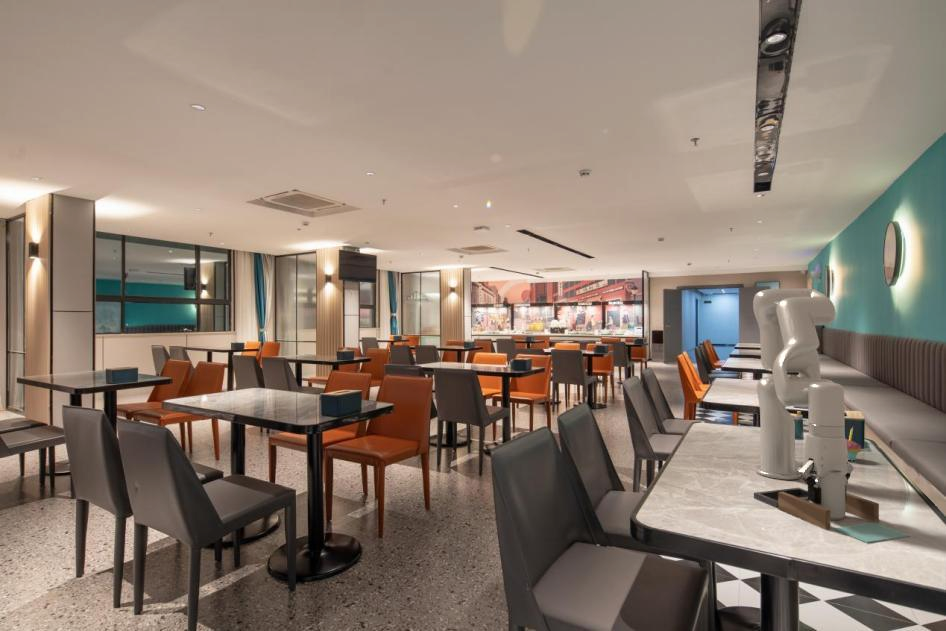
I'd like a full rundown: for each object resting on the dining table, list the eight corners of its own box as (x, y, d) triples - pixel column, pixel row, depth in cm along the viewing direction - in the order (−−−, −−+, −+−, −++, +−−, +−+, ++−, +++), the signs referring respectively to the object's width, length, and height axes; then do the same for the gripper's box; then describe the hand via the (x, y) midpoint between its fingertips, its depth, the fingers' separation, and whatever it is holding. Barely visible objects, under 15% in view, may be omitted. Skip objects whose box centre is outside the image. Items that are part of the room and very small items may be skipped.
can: (847, 523, 120) (846, 474, 121) (810, 517, 124) (809, 469, 125) (843, 513, 127) (843, 466, 127) (808, 507, 131) (808, 462, 131)
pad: (875, 523, 121) (875, 522, 121) (909, 536, 113) (909, 535, 113) (834, 529, 117) (834, 528, 117) (866, 543, 110) (866, 541, 110)
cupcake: (859, 458, 177) (859, 425, 178) (862, 464, 170) (862, 429, 170) (830, 455, 182) (829, 422, 182) (832, 460, 175) (831, 426, 175)
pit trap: (798, 492, 142) (798, 487, 142) (823, 501, 135) (823, 496, 135) (753, 498, 138) (753, 492, 138) (776, 507, 131) (776, 502, 131)
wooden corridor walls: (828, 503, 134) (828, 486, 134) (879, 521, 122) (878, 503, 122) (778, 509, 130) (778, 492, 130) (825, 529, 117) (825, 510, 117)
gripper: (838, 426, 132) (838, 492, 131) (786, 429, 127) (786, 498, 127) (867, 432, 124) (867, 502, 124) (813, 436, 120) (814, 509, 120)
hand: (827, 499), depth 126 cm, fingers closed on can, 7 cm apart
